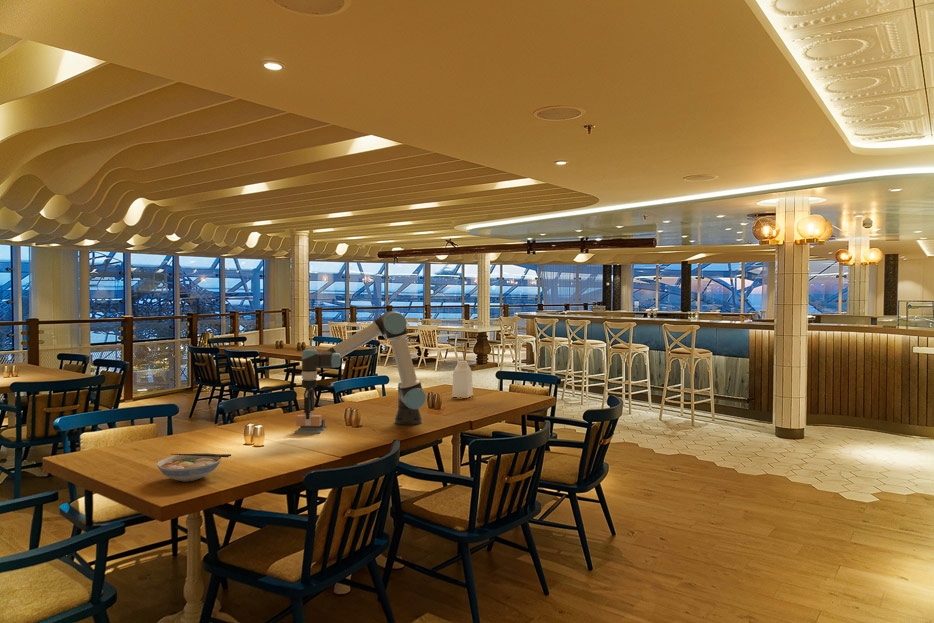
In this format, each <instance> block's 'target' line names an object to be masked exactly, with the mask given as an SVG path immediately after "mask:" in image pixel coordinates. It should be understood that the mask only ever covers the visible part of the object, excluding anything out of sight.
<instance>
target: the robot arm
mask: <svg viewBox="0 0 934 623" xmlns="http://www.w3.org/2000/svg"><path fill="white" fill-rule="evenodd" d="M384 335H385V337H386V339H387V340H388V341H390V344H391V348H392V352H393V357H394V360H395V363H396V368H397V371H398V375H399V378H400V382H398V385H397V411H396V414H395V417H394V423H395V424H397V425H403V426H413V425H420V424H422V422H423V421H422V415H421V412H420V408H422V407H423V406H424V405H425V403H426V399H427V395H426V392H425V391H424V390H423V386H422V383H421V380H420V379H418V378H417V373H416V371H415V368H414V367H415V366H414V364H413V359H412V356H411V352H410V348H409V343H408V340H407V335H408V329H407V319H406V317H405V315H403V313H401V312H400V311H398V310H397V311H396V310H395V311H393V310H389V311H386V312H384V313H382V314H381V315H380V316H379V317H377V318H376V319H374V320H373V321H372V323H371V324H370V325H367V326H366V327H364V328H363V329H361V330H359V331H358V332H356V333H354V334H352V335H350V336H349V337H347V338H345V339H343V340H342V341H340V342H339V343H337V344H335V345H333V346H332V347H330V348H328V349H326V350H324V351H322V352H321V353H320V352H318V350H317V349H314V348H313V349H312V348H309V349H308V348H307V349H303V350H302V351H301V352H302V353H301V354H302V355H301V373H300V374H301V379H302V380H301V387H302V388H305V390H304V393H303V414H304V415H305V425H311V415H314V411H316V409H315V392H316V391H315V389H314V388H317V386H318V380H317V378H318V369H319V368H333V369H334V368H339V367H341V362H342V361H341V359H342V358H343V357H345V356H346V355H348V354H350V353H352V352H354V351H355V350H356V349H359V348H360V347H362V346H364V345H365V344H367V343H369V342H371V341H372V340H373V339H375V338H377V337H379V336H381V337H382V336H384Z"/></svg>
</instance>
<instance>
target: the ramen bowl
mask: <svg viewBox="0 0 934 623" xmlns="http://www.w3.org/2000/svg"><path fill="white" fill-rule="evenodd" d="M170 455H173V456H169V457H166V458H162V459H161V460H159V461H157V462H156V467H157V468H158V470H159V471H160V472H161V474H163V475H164V476H165V477H167V478H169V479H172V480H175V481H179V482H181V481H182V483H190V482H189V481H191V482H195V481H194V480H196V481H198V479H199V480H200V479H201V478H204V477H206V476H208V475H209V474H211V473H212V472H214V471H215V469H217V467H218V466H219V465H220V462H221V460H222V458H229V457H231V456H232V454H231V453H229V454H228V453H227V454H226V453H225V454H224V453H223V454H222V453H219V454H218V453H217V454H216V453H210V452H209V453H208V452H195V453H171V454H170Z"/></svg>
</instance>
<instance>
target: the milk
mask: <svg viewBox="0 0 934 623" xmlns="http://www.w3.org/2000/svg"><path fill="white" fill-rule="evenodd" d="M452 374H453V375H452V391H451V392H452V393H451V394H452V395H451V398H452V397H469V396H471V395H473V396H474V390H473V371H472V368H471V366H470V364H469V363H468V361H467V360H458V361H457V364H456V366H455V368H454V370H453V373H452Z"/></svg>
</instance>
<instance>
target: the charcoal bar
mask: <svg viewBox="0 0 934 623" xmlns="http://www.w3.org/2000/svg"><path fill="white" fill-rule="evenodd" d="M325 425H326V419H325V418H321V425H320V426H299V428H325ZM325 429H326V428H325Z"/></svg>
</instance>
